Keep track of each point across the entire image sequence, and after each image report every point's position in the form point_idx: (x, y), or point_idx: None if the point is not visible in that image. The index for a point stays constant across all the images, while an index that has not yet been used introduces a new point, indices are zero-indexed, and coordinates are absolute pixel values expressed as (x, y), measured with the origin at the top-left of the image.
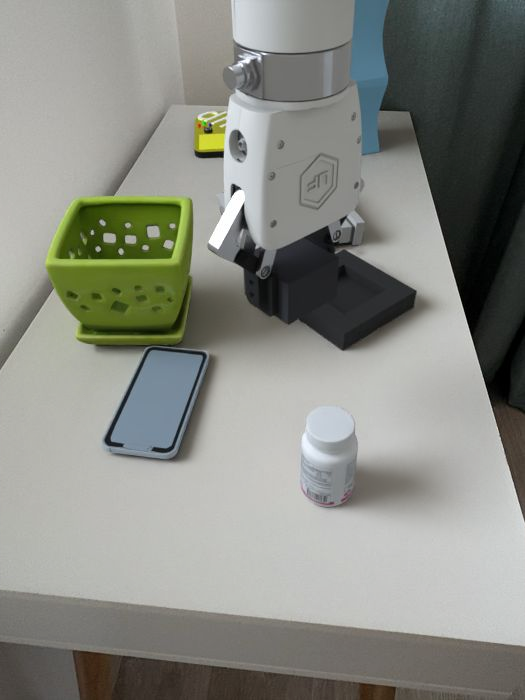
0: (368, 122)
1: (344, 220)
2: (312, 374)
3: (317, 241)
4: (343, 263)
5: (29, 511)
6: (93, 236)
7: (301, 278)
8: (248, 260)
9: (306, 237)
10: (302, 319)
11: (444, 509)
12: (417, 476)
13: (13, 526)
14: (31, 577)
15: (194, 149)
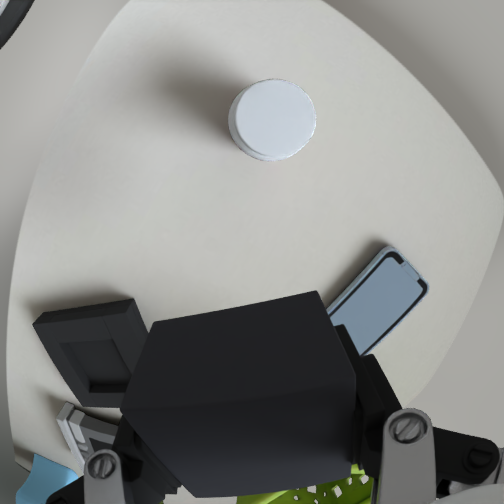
0: (36, 476)
1: (70, 483)
2: (184, 284)
3: (156, 468)
4: (88, 393)
5: (481, 253)
6: (325, 491)
7: (294, 387)
8: (469, 456)
9: (176, 483)
10: None
11: (164, 45)
12: (160, 90)
13: (491, 246)
14: (498, 197)
15: None
